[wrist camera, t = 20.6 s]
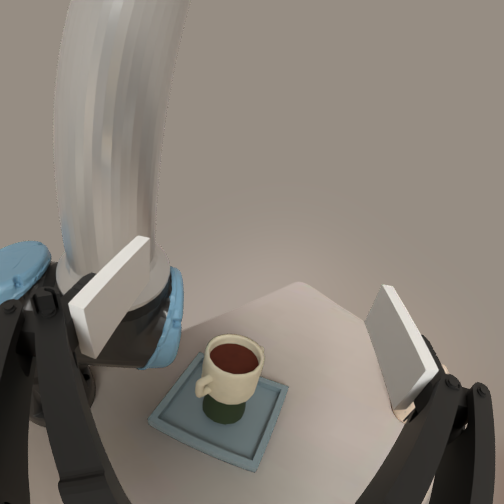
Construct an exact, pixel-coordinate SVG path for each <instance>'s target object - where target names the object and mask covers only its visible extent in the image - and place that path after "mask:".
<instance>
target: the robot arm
mask: <svg viewBox="0 0 504 504" xmlns="http://www.w3.org/2000/svg"><path fill="white" fill-rule="evenodd" d="M190 2H191V0H71V1H70V5H69V8H68V12H67V16H66V21H65V25H64V29H63V34H62V40H61V45H60V52H59V58H58V65H57V73H56V83H55V95H54V116H53V117H54V118H53V151H54V172H55V185H56V195H57V203H58V211H59V218H60V225H61V231H62V237H63V243H64V247H65V252H64V253H63V254H62V256H61V258H60V259H59V262H52V261H51V254H50V252H49V250H48V248H47V247H46V246H45V245H43V244H42V243H41V242H38V241H24V242H18V243H15V244H12V245H9V246H7V247H4V248H2V249H0V504H30V492H29V478H28V428H29V420H30V421H32V422H34V423H35V424H38V425H40V426H43V427H46V429H47V433H48V437H49V441H50V445H51V449H52V453H53V456H54V460H55V463H56V466H57V470H58V473H59V476H60V481H59V483H58V489H59V492H60V496H61V498H62V501H63V503H64V504H131V502H130V500H129V499H128V497H127V496H126V494H125V493H124V491H123V489H122V487H121V485H120V483H119V481H118V479H117V477H116V475H115V472H114V470H113V468H112V466H111V463H110V461H109V459H108V456H107V454H106V452H105V449H104V447H103V444H102V442H101V439H100V436H99V434H98V431H97V428H96V425H95V422H94V419H93V416H92V413H91V410H90V407H91V405H92V403H93V400H94V396H95V383H94V379H93V376H92V374H91V371H90V368H89V366H88V365H93V366H106V367H123V368H136V369H138V370H145V369H147V368H163V367H166V366H168V365H170V364H171V363H172V362H173V361H174V359H175V357H176V355H177V352H178V348H179V343H180V337H181V321H182V316H183V301H184V291H183V280H182V275H181V272H180V271H179V270H178V269H177V268H173V267H171V266H170V262H169V259H168V256H167V254H166V252H165V251H164V250H163V248H162V247H161V246H160V245H159V244H158V243H156V242H155V233H156V211H157V196H158V183H159V172H160V162H161V152H162V144H163V136H164V128H165V121H166V114H167V108H168V102H169V95H170V90H171V84H172V79H173V73H174V68H175V64H176V59H177V54H178V49H179V45H180V41H181V37H182V32H183V29H184V25H185V21H186V17H187V13H188V9H189V6H190ZM365 325H366V328H367V330H368V333H369V336H370V339H371V342H372V344H373V347H374V350H375V353H376V356H377V359H378V362H379V365H380V368H381V371H382V374H383V377H384V381H385V384H386V387H387V390H388V394H389V397H390V400H391V404H392V407H393V410H404V409H407V408H408V407H409V406H410V405H411V403H412V402H414V405H415V408H414V409H413V410H412V411H411V412H410V413H409V415H408V416H407V417H406V418H405V419H404V420H403V422H405V421H406V420H407V421H406V423H405V425H404V427H403V429H402V431H401V433H400V435H399V437H398V438H397V440H396V442H395V444H394V446H393V447H392V449H391V451H390V452H389V454H388V456H387V457H386V459H385V461H384V462H383V464H382V465H381V467H380V469H379V470H378V472H377V473H376V475H375V476H374V478H373V479H372V481H371V482H370V484H369V485H368V486H367V488H366V489H365V491H364V492H363V493H362V495H361V496H360V497H359V499H358V500H357V501H356V503H355V504H421V503H422V501H423V499H424V497H425V495H426V493H427V491H428V489H429V487H430V485H431V482H432V480H433V478H434V476H435V478H434V483H433V488H432V493H431V498H430V501H429V504H492V503H493V494H494V480H495V434H494V419H493V409H492V401H491V395H490V391H489V390H488V388H487V387H486V386H485V385H484V384H482V383H479V382H477V383H475V384H474V385H473V386H472V387H471V388H470V389H467V388H464V387H462V386H461V384H460V382H459V380H458V379H457V378H456V377H454V376H453V375H451V374H446V373H445V371H444V369H443V367H442V365H441V363H440V361H439V359H438V357H437V356H436V353H435V351H434V350H433V347H432V346H431V344H430V342H429V341H428V340H427V339H426V337H424V335H421V334H420V332H419V331H418V329H417V327H416V325H415V323H414V322H413V320H412V318H411V316H410V314H409V313H408V311H407V309H406V308H405V306H404V304H403V302H402V301H401V299H400V298H399V296H398V294H397V292H396V291H395V289H394V287H393V286H388V285H383V284H382V285H381V288H380V290H379V292H378V294H377V297H376V299H375V301H374V303H373V306H372V307H371V309H370V312H369V314H368V316H367V318H366V320H365ZM467 423H468V425H467V428H466V429H465V425H466V424H467Z"/></svg>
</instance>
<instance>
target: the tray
mask: <svg viewBox="0 0 504 504" xmlns="http://www.w3.org/2000/svg"><path fill="white" fill-rule="evenodd" d="M203 360H204V354H203V353H201V352H199V353H198V355H197V356H196V357H195V358H194V360H193V361H192V362H191V364H190V365H189V366H188V368H187V369H186V370H185V372H184V373H183V374H182V375H181V377H180V378H179V379H178V381H177V382H176V383H175V384H174V386H173V387H172V388H171V390H170V391H169V392H168V393H167V395H166V396H165V397H164V399H163V400H162V401H161V402H160V404H159V405H158V406H157V408H156V409H155V410H154V411H153V413H152V414H151V415H150V416H149V418H148V423H149V425H150V426H152V427H154V428H156V429H157V430H159V431H161V432H163V433H165V434H167V435H169V436H170V437H172V438H174V439H176V440H178V441H180V442H182V443H184V444H186V445H188V446H190V447H192V448H195V449H197V450H199V451H201V452H203V453H206V454H208V455H210V456H212V457H215V458H217V459H220V460H222V461H224V462H227V463H230V464H232V465H235V466H237V467H240V468H243V469H246V470H248V471H251V472H254V473H255V471H256V470H257V468H258V466H259V464H260V461H261V459H262V456H263V454H264V452H265V449H266V447H267V444H268V442H269V439H270V437H271V434H272V431H273V429H274V426H275V424H276V421H277V418H278V416H279V413H280V410H281V408H282V405H283V402H284V399H285V396H286V394H287V391H288V388H289V387H288V386H285V385H282V384H280V383H277V382H274V381H271V380H268V379H265V378H263V377H259V380H258V383H257V386H256V389H255V392H254V394H253V395H252V396H251V397H250V398H249V399H248V400H247V401H246V406H245V412H244V414H243V416H242V418H241V419H240V420H239V421H237V422H236V423H234V424H226V425H224V424H220V423H216V422H214V421H213V420H211V419H210V418H208V417H207V416H206V414H205V413H204V411H203V399H204V396H203V397H201V398H198V397H196V394H195V386H196V382H197V380H199V379H200V378H201V375H202V365H203Z"/></svg>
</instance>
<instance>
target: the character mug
mask: <svg viewBox="0 0 504 504" xmlns="http://www.w3.org/2000/svg"><path fill="white" fill-rule="evenodd" d="M264 360H265V357H264V348H263V347H261V346H259V345H258V344H257V343H256V342H254V341H253V340H251V339H249V338H247V337H244V336H241V335H237V334H223V335H219V336H216V337H214V338H213V339H212V340H211V341H210V342H209V343H208V345H207V347H206V350H205V354H204V360H203V365H202V375H201V378H200V379H199V380H197V382H196V386H195V394H196V397H198V398H201V397H203V396H204V399H203V411H204V413H205V414H206V416H207V417H208V418H210V419H211V420H213V421H214V422H216V423H220V424H224V425H226V424H234V423H236V422H237V421H239V420H240V419H241V418H242V416H243V414H244V412H245V406H246V401H247V400H248V399H249V398H250V397H251V396H252V395H253V394H254V392H255V389H256V386H257V383H258V380H259V377H260V374H261V371H262V368H263V364H264Z"/></svg>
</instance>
